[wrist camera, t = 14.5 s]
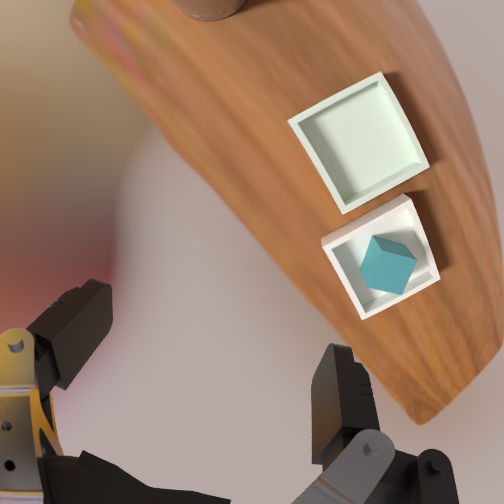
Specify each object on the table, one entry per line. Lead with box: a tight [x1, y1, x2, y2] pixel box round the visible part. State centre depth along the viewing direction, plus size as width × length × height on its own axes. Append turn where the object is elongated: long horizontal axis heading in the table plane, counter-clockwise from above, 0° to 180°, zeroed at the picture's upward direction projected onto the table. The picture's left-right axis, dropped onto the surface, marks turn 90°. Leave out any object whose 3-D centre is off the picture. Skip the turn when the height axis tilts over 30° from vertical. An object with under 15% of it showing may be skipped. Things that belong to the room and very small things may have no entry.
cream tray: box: [321, 194, 440, 320], centre depth 39 cm, size 13×13×3 cm
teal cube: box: [360, 236, 417, 295], centre depth 37 cm, size 5×5×5 cm
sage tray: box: [288, 72, 430, 214], centre depth 33 cm, size 13×13×3 cm
